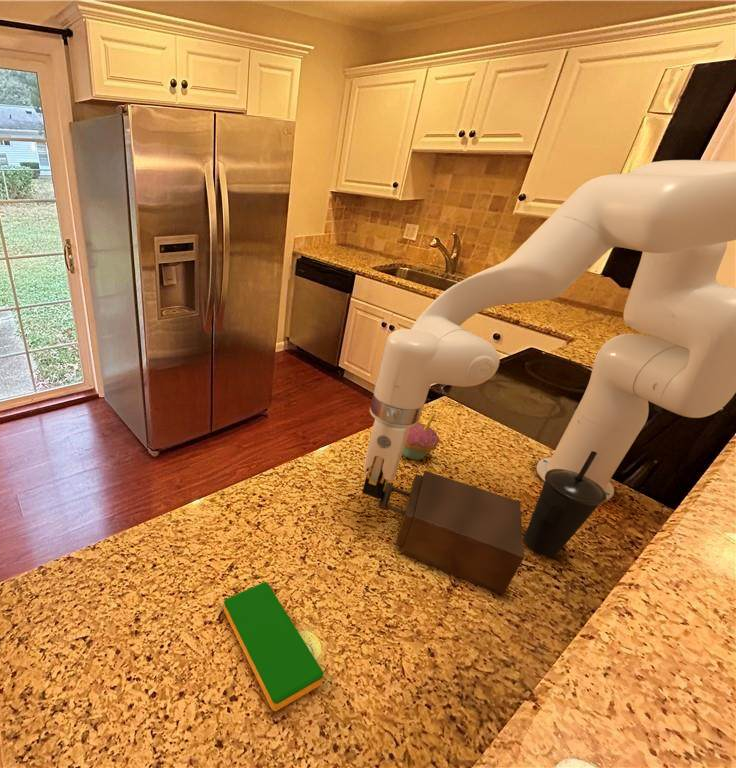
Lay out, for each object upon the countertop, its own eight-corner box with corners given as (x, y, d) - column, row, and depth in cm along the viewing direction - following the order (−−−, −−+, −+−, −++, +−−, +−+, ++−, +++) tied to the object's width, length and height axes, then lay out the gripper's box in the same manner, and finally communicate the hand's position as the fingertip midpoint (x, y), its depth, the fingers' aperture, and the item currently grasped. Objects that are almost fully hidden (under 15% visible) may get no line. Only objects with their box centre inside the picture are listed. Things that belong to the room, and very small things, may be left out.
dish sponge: (265, 590, 62) (266, 580, 61) (322, 684, 51) (325, 674, 50) (222, 609, 59) (223, 599, 58) (273, 713, 48) (274, 703, 47)
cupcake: (438, 453, 92) (454, 407, 86) (424, 471, 86) (440, 424, 80) (400, 437, 97) (413, 393, 91) (385, 453, 91) (397, 407, 86)
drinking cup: (577, 568, 66) (641, 473, 57) (525, 559, 68) (579, 465, 58) (554, 531, 73) (608, 440, 63) (507, 524, 74) (552, 434, 64)
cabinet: (401, 553, 68) (413, 516, 64) (413, 505, 78) (424, 470, 74) (502, 595, 62) (524, 557, 58) (502, 537, 71) (520, 501, 67)
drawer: (369, 533, 71) (377, 504, 67) (383, 492, 79) (391, 465, 76) (487, 581, 63) (503, 551, 60) (488, 531, 71) (502, 502, 68)
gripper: (413, 438, 58) (384, 530, 66) (427, 394, 69) (401, 477, 78) (359, 421, 61) (339, 511, 70) (382, 382, 72) (361, 463, 81)
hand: (372, 493), depth 74 cm, fingers closed
